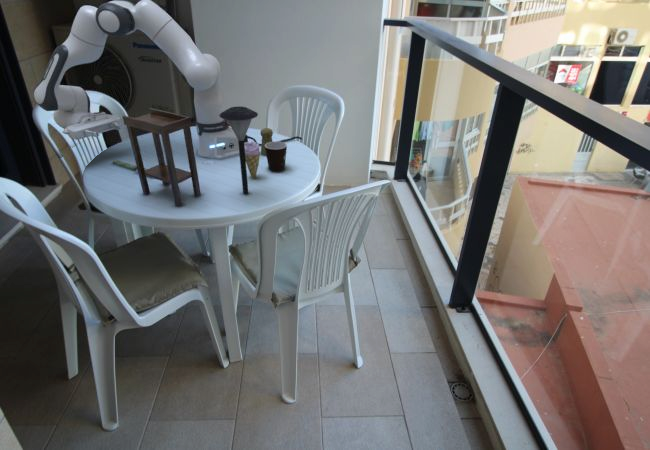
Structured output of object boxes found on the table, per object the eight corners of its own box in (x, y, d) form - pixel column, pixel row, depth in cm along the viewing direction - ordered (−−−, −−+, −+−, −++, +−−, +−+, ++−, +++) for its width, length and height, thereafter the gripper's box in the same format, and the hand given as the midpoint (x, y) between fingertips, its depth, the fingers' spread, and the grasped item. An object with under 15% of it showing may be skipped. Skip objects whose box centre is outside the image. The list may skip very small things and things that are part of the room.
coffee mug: (278, 175, 153) (277, 151, 148) (261, 169, 157) (260, 146, 152) (296, 165, 162) (295, 142, 156) (279, 160, 165) (278, 137, 160)
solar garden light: (247, 182, 147) (240, 101, 131) (270, 193, 140) (265, 109, 124) (221, 193, 139) (210, 109, 123) (243, 205, 132) (235, 117, 116)
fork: (110, 164, 157) (110, 161, 157) (118, 161, 160) (117, 158, 160) (152, 178, 148) (151, 175, 147) (159, 174, 150) (159, 172, 150)
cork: (272, 156, 169) (271, 131, 163) (258, 155, 170) (257, 130, 164) (276, 151, 174) (275, 127, 168) (263, 150, 175) (262, 126, 169)
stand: (141, 194, 137) (122, 116, 122) (166, 182, 145) (151, 107, 130) (178, 208, 130) (162, 126, 115) (202, 194, 138) (190, 117, 123)
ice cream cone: (246, 182, 147) (243, 144, 139) (241, 176, 152) (238, 138, 144) (263, 179, 150) (261, 141, 142) (258, 173, 154) (255, 136, 146)
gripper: (57, 123, 147) (79, 130, 141) (106, 110, 162) (128, 116, 157) (62, 139, 150) (85, 146, 145) (110, 125, 165) (132, 131, 160)
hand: (108, 131), depth 151 cm, fingers open, 8 cm apart
